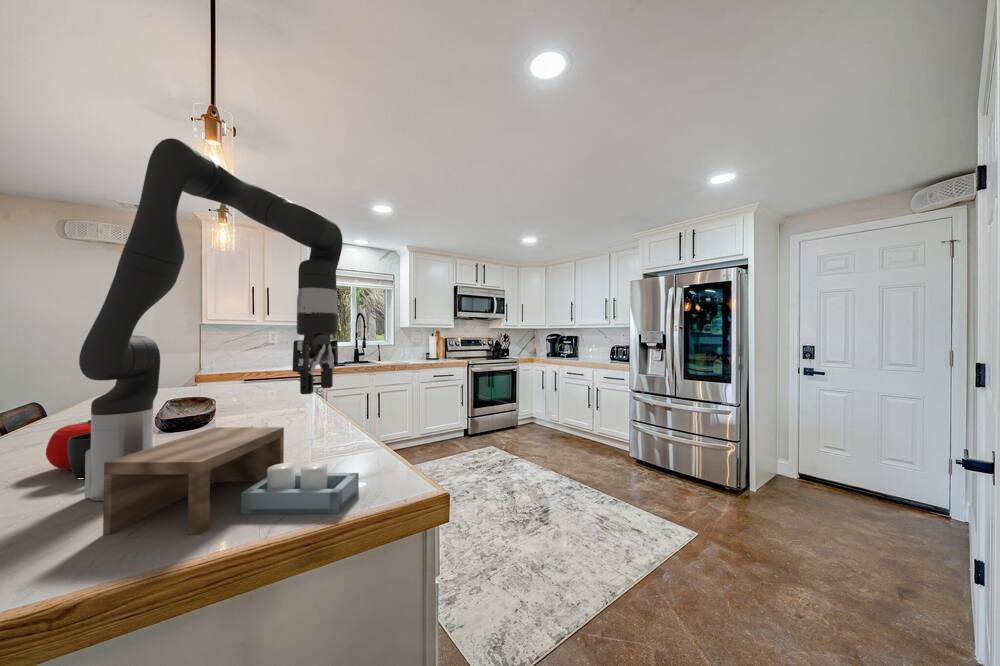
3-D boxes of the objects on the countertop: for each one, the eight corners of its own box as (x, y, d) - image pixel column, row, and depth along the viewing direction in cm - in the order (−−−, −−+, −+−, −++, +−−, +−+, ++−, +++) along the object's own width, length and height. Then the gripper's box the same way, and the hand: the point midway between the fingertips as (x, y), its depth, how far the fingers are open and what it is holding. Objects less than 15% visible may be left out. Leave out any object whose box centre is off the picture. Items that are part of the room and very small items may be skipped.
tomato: (27, 477, 86) (28, 427, 86) (83, 458, 100) (84, 415, 100) (90, 474, 88) (91, 425, 88) (137, 456, 101) (138, 414, 102)
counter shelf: (103, 534, 61) (104, 462, 61) (213, 479, 85) (214, 427, 85) (200, 534, 61) (200, 462, 61) (283, 479, 85) (283, 427, 85)
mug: (82, 487, 81) (82, 443, 81) (60, 478, 86) (61, 437, 86) (132, 474, 88) (132, 434, 88) (109, 467, 93) (110, 429, 93)
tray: (241, 514, 68) (241, 476, 68) (273, 491, 78) (274, 458, 78) (338, 514, 69) (338, 476, 69) (358, 491, 79) (358, 458, 79)
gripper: (316, 314, 83) (315, 386, 83) (278, 309, 69) (278, 396, 68) (349, 314, 83) (349, 386, 83) (319, 309, 69) (319, 396, 68)
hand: (317, 390), depth 75 cm, fingers open, 8 cm apart
